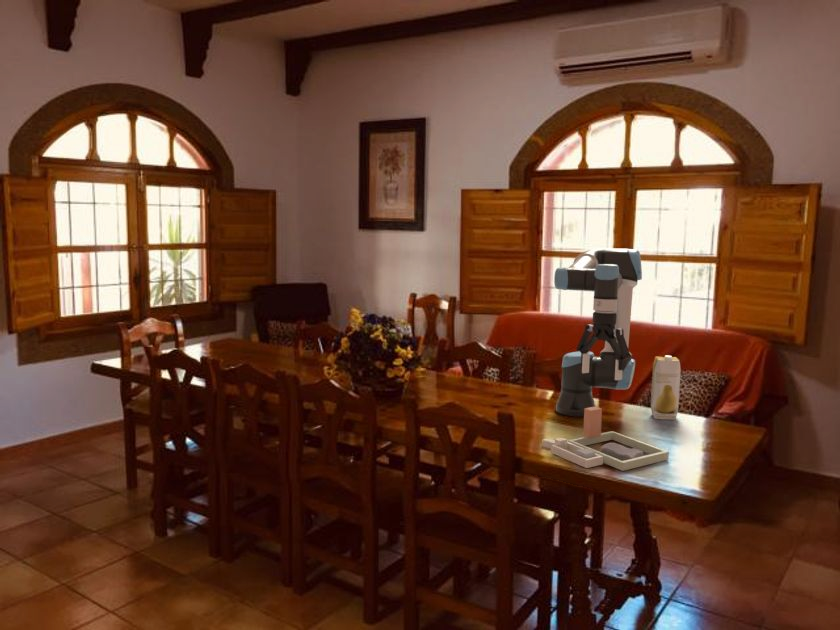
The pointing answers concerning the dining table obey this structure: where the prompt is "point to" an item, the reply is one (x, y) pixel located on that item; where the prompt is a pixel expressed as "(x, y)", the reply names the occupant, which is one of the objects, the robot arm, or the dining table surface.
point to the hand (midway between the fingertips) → (601, 376)
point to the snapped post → (548, 443)
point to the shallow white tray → (595, 436)
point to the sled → (563, 446)
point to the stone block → (620, 451)
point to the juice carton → (665, 387)
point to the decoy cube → (585, 453)
